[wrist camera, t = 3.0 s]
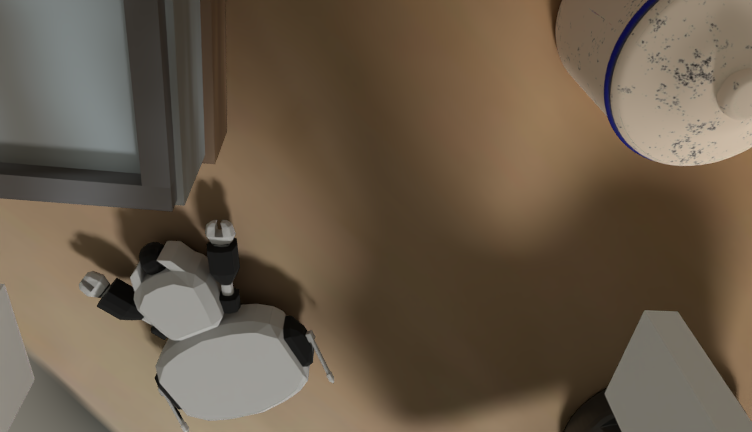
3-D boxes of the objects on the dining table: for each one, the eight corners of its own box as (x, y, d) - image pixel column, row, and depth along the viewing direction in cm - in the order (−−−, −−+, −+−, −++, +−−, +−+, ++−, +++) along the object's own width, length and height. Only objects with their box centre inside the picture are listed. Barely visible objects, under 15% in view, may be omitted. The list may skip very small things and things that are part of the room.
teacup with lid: (580, 122, 36) (668, 233, 27) (523, -14, 32) (603, 60, 22) (785, 18, 33) (967, 100, 24) (754, -147, 29) (963, -130, 19)
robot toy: (83, 256, 41) (201, 399, 48) (53, 296, 37) (187, 446, 44) (239, 189, 39) (340, 350, 46) (225, 224, 35) (338, 394, 42)
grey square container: (224, -143, 28) (173, -126, 20) (226, 131, 36) (191, 227, 27) (-101, -188, 27) (-305, -191, 18) (-26, 108, 34) (-145, 202, 26)
